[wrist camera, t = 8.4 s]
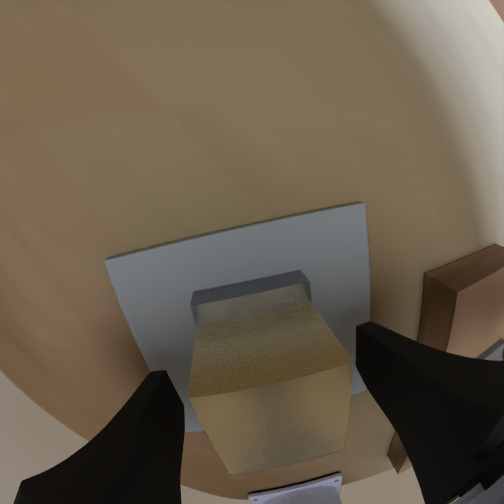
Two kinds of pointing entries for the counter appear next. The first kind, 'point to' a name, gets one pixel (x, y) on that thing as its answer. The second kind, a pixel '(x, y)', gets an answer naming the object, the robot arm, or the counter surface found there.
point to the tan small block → (268, 374)
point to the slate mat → (239, 270)
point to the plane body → (461, 315)
